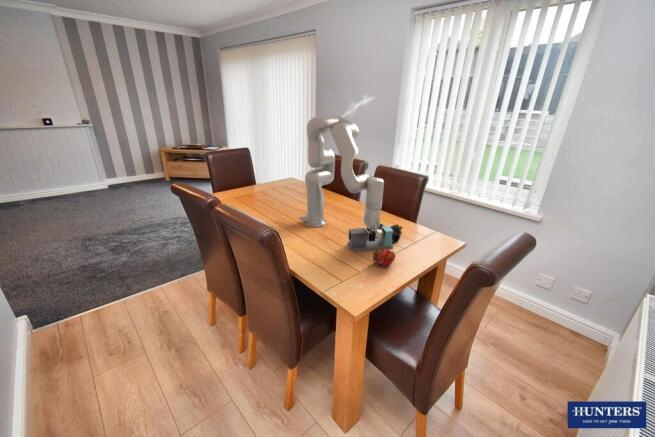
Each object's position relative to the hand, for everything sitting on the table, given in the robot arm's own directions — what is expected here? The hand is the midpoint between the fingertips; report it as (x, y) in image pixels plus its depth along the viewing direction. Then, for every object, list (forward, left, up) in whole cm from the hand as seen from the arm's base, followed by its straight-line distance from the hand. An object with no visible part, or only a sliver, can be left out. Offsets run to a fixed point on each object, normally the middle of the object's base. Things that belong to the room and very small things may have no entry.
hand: (370, 238), depth 135 cm
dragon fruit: (+1, -16, -5) cm, 17 cm away
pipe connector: (+15, +10, -5) cm, 19 cm away
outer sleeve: (-6, 0, -3) cm, 7 cm away
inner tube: (-2, 0, +1) cm, 2 cm away
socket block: (+8, 0, -3) cm, 9 cm away
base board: (0, 0, -4) cm, 4 cm away
